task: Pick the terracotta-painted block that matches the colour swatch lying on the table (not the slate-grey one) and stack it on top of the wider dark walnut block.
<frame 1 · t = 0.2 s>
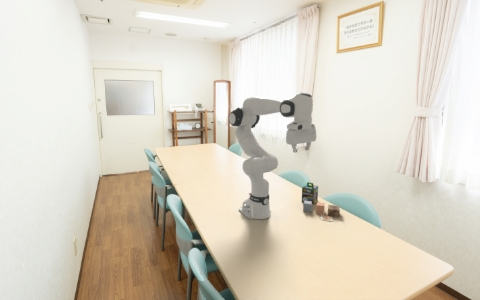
hand: (301, 151, 138), 48 cm above the table, fingers open, 8 cm apart
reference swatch: (326, 218, 167), on the table
dark product box: (309, 201, 194), on the table
walnut base: (333, 214, 173), on the table
slate block: (307, 210, 178), on the table
terracotta block: (320, 212, 176), on the table
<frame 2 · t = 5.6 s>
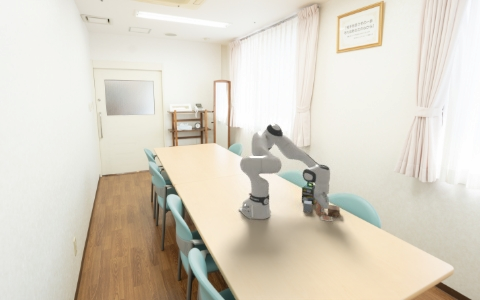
hand: (320, 209, 175), 2 cm above the table, fingers closed on terracotta block, 6 cm apart
terracotta block: (320, 212, 175), on the table, touching gripper
everything else where it was.
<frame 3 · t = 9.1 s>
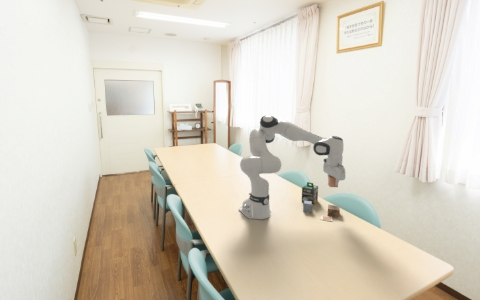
hand: (333, 182, 170), 21 cm above the table, fingers closed on terracotta block, 6 cm apart
terracotta block: (332, 185, 170), point 19 cm above the table, touching gripper
everything else where it was.
when the fingers open (8 cm above the table, at t = 12.9 s): terracotta block drops 1 cm, resting on walnut base.
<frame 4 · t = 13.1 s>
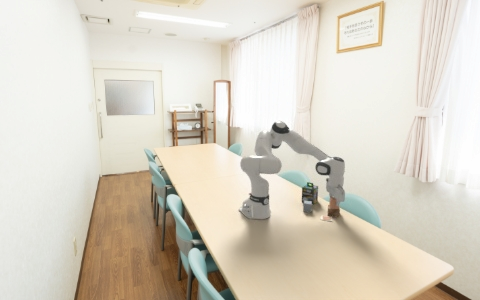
hand: (334, 202, 171), 8 cm above the table, fingers open, 7 cm apart
walnut base: (333, 214, 173), on the table, touching terracotta block
terracotta block: (333, 207, 172), point 5 cm above the table, touching walnut base
everything else where it was.
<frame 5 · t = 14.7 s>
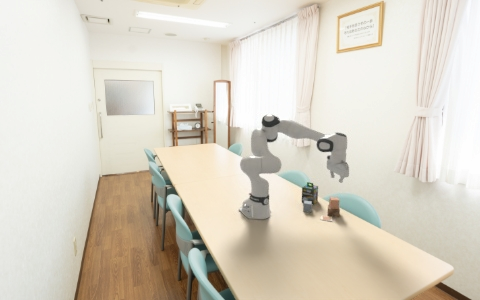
hand: (336, 179, 168), 24 cm above the table, fingers open, 8 cm apart
walnut base: (333, 214, 173), on the table
terracotta block: (333, 207, 172), point 5 cm above the table
everything else where it was.
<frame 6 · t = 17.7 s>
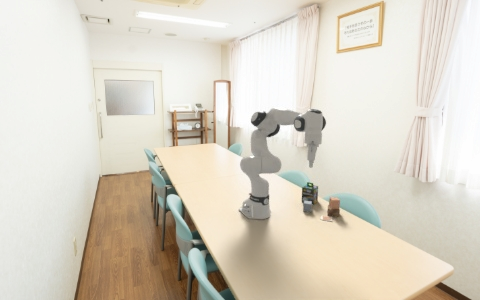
hand: (311, 165, 144), 39 cm above the table, fingers open, 8 cm apart
nothing on the table moved.
at the end: terracotta block 0.3 cm off-centre on the walnut base, point 5.0 cm above the walnut base's base; terracotta block tilted 0°; slate block moved 0.1 cm from its start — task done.
